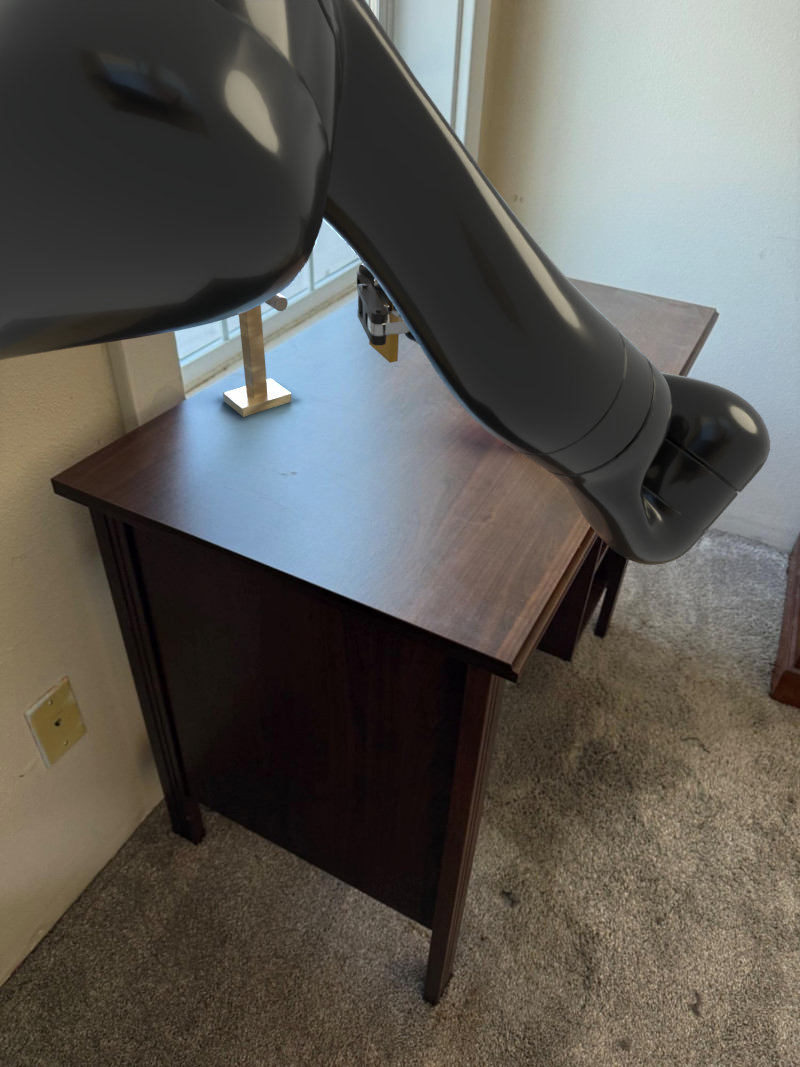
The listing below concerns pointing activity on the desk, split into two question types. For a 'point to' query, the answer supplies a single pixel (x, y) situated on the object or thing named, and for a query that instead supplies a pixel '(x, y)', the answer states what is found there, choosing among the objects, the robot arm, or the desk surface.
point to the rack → (256, 366)
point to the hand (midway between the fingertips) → (390, 271)
